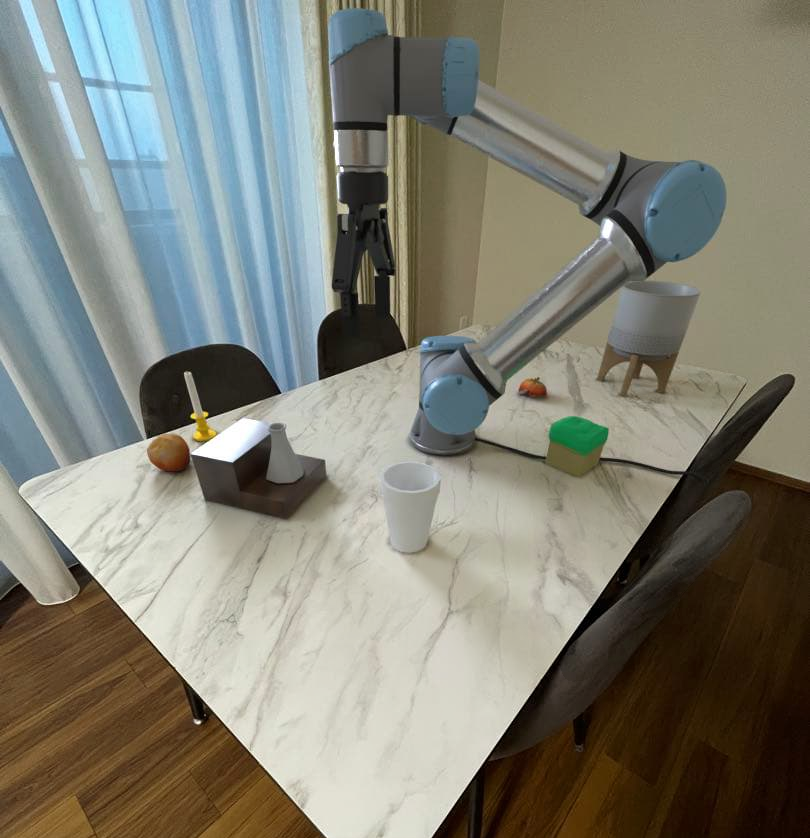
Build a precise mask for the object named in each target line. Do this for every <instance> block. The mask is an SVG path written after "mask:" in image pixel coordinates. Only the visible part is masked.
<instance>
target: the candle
mask: <svg viewBox="0 0 810 838" xmlns="http://www.w3.org/2000/svg"><path fill="white" fill-rule="evenodd" d="M183 375H184V380H185V384H186V388H187V391H188V394H189V397H190V401H191V404H192V408H193V412H192V413H191V415H190V418H191V419H192V420H195V422H196V426H195V431H196V432H195V433H193V440H195V441H197V442H209V441H210V440H212V439H213V438H215V437H216V436H217V435H218V433H217V431H216V430H213V429H211V425H210V424H208V423H207V420H206V418H207V417H208V416H209V412H207V411H203V409H202V405H201V401H200V398H199V394H198V391H197V387H196V384H195V380H194V377H193V374H192V372H191V371H185V372H184V373H183Z"/></svg>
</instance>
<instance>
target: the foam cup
mask: <svg viewBox="0 0 810 838" xmlns="http://www.w3.org/2000/svg"><path fill="white" fill-rule="evenodd" d="M441 479H442V478H441V474H440V472H439V471H438V470H437V469H436V468H435V467H433V466H432V465H430V464H428V463H424V462H421V461H411V460H409V461H408V460H406V461H399V462H394V463H391V464H390V465H387V466H385V467H384V468H383V469H382V471H381V472H380V474H379V484H380V487H379V488H380V494H381V496H382V501H383V507H384V511H385V518H386V525H387V527H388V528H387V529H388V534H389V540H390V544H391V546H392V547H393V548H394V549H395V550H396V551H398V552H401V553H407V554H412V553H417V552H420V551H422V550H423V549H425V548H426V545H428V540H429V536H430V531H431V528H432V523H433V520H434V514H435V508H436V504H437V500H438V495H439V493H440V492H441Z"/></svg>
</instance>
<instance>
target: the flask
mask: <svg viewBox="0 0 810 838" xmlns="http://www.w3.org/2000/svg"><path fill="white" fill-rule="evenodd" d="M286 429H287V424H286V423H283V422H273V423H272V424H271V425H269V427H268V431H269V432H270V433H271V454H270V461H269V466H268V471H267V477H266V479H267V480H270V481H273V482H275V483H292V482H295V481H296V480H298V479H299V478H300V477H302V476H303V472H304V467H303V465H302V464H301V462H300V461H299V459H298V457H297V456H296V454H297V453H296V452H295V451H294V449H293V448H292V446H291V444H290V442H289V439H288V437H287V432H286Z"/></svg>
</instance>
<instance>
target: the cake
mask: <svg viewBox="0 0 810 838" xmlns="http://www.w3.org/2000/svg"><path fill="white" fill-rule="evenodd" d="M609 431H610V428H609V427H607V426H604V425H600V424H598V423H595V422H593V421H591V420H590V419H587V418H584V417H580V416H578V415H570V416H569V415H568V416H566V417H564V418H561V419H558V420H557V421H555V422H553V423H552V424H551V425H550V427H549V433H548V441H549V442H548V446H547V452H546V455H545V457H546V460H544V464H546V465H548V466H551V467H554V468H556V469H559V470H561V471H563V472H566V473H567V474H570V475H572V476H575V477H577V478H580V477H581V476H583V475H584V474H585V473H587V472H589V471H590V470H591V469H593V468H594V467H595V466H597V465H598V464H599V463H600V461H599V459H600V457H601V456H602V452H603V449H604V446H605V444H606V443H607V441H608V438H609Z"/></svg>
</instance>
